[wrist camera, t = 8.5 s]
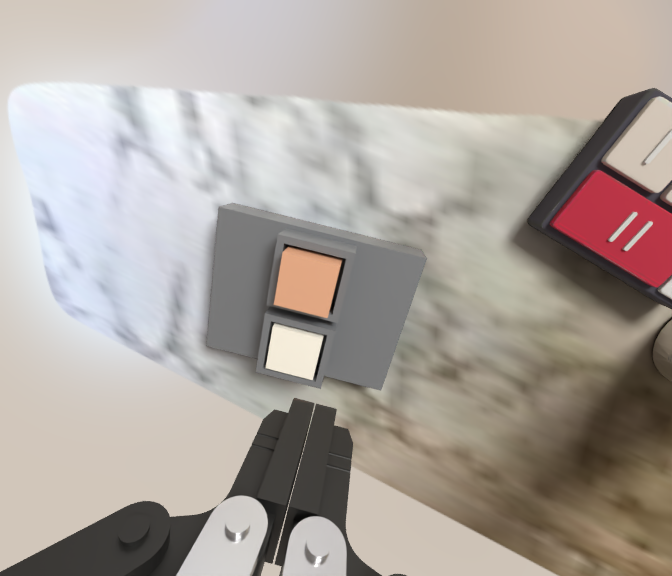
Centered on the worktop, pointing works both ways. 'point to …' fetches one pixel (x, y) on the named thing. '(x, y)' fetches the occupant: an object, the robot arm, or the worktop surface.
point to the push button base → (338, 329)
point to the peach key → (307, 280)
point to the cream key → (294, 351)
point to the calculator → (620, 197)
